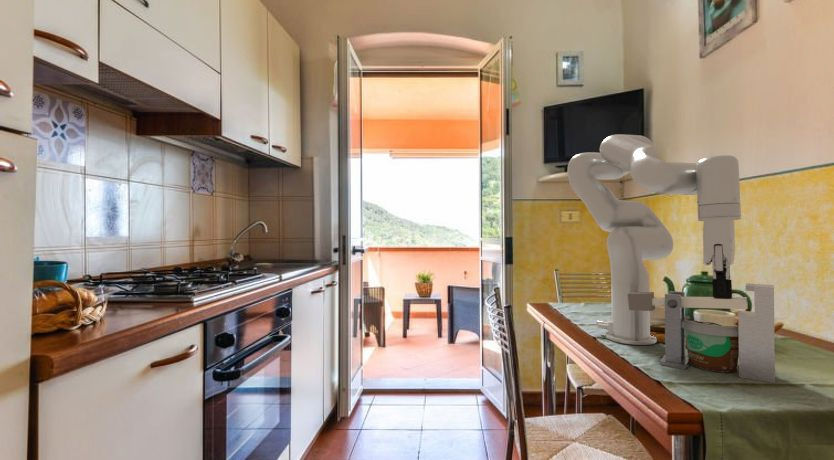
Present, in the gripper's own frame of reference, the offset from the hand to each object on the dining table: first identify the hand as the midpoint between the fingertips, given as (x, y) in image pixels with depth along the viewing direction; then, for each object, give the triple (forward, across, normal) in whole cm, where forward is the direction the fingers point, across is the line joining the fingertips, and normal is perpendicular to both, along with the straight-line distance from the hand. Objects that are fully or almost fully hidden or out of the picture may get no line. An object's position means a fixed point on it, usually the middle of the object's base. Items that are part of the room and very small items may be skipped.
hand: (722, 298), depth 88 cm
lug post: (+16, -1, +5) cm, 17 cm away
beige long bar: (+3, -1, -7) cm, 8 cm away
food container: (+16, -1, -4) cm, 16 cm away
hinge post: (+16, -1, -9) cm, 18 cm away
